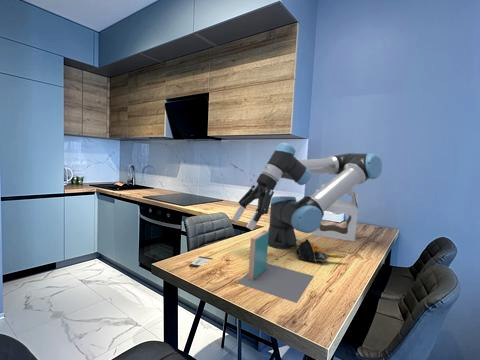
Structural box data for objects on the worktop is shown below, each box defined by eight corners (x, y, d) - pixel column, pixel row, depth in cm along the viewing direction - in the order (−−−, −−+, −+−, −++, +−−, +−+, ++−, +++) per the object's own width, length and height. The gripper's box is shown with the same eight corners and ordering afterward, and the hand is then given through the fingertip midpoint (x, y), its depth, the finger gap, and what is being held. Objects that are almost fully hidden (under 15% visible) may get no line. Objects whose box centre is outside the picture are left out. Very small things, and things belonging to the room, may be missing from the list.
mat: (261, 263, 100) (262, 261, 100) (313, 277, 90) (313, 275, 90) (235, 284, 82) (235, 282, 82) (296, 304, 72) (296, 302, 72)
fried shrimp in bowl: (292, 243, 111) (331, 231, 111) (300, 269, 108) (341, 257, 108) (295, 242, 102) (338, 229, 103) (305, 270, 99) (349, 257, 99)
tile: (262, 267, 95) (264, 230, 93) (266, 268, 94) (269, 231, 92) (248, 279, 85) (250, 238, 84) (253, 280, 84) (255, 239, 83)
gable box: (353, 234, 145) (358, 185, 142) (355, 241, 133) (360, 188, 130) (313, 229, 153) (316, 182, 150) (311, 235, 140) (315, 184, 138)
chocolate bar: (236, 273, 89) (189, 265, 94) (236, 275, 89) (189, 267, 94) (242, 263, 98) (199, 256, 102) (242, 265, 98) (199, 258, 102)
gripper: (248, 171, 111) (222, 213, 108) (280, 174, 89) (248, 227, 85) (260, 180, 114) (235, 221, 111) (294, 185, 92) (264, 237, 88)
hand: (241, 224), depth 98 cm, fingers open, 13 cm apart
